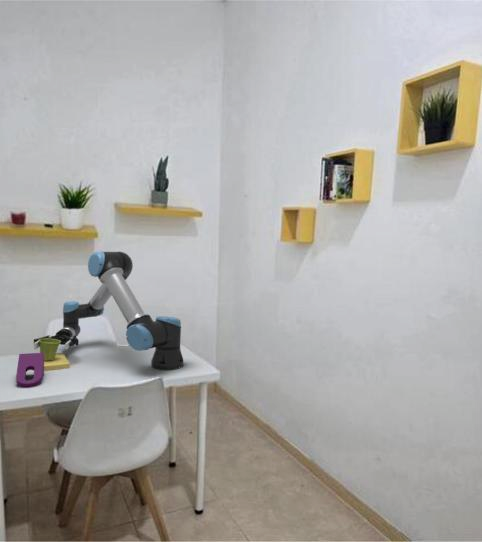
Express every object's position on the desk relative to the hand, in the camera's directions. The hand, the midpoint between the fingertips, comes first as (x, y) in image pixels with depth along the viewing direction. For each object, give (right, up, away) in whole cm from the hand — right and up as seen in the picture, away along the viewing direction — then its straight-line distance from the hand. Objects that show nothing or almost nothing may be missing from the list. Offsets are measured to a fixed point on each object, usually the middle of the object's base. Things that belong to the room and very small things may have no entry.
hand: (50, 346), depth 190 cm
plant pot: (-4, -7, +5) cm, 9 cm away
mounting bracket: (0, -11, -17) cm, 21 cm away
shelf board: (-2, -9, +6) cm, 11 cm away
